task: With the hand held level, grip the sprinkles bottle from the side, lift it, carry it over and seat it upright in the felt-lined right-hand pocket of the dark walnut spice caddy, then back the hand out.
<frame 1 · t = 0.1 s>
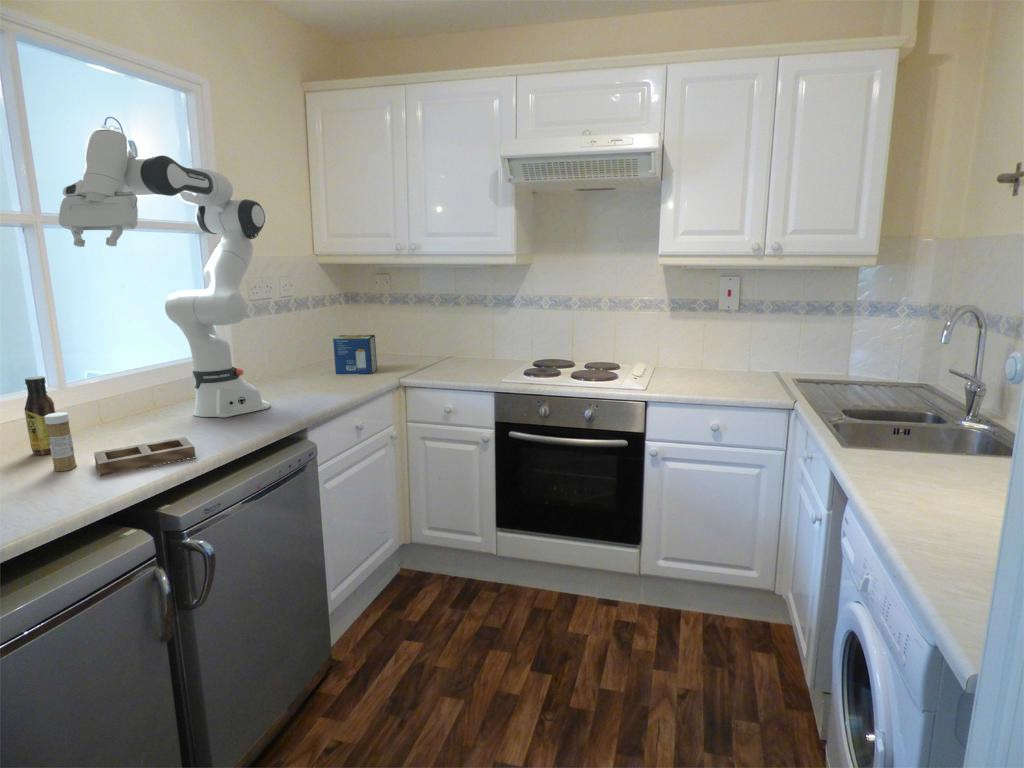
hand: (94, 245, 154), 52 cm above the worktop, tool tilted 20°, fingers open, 8 cm apart
sauce bottle: (47, 453, 161), on the worktop
sprinkles bottle: (65, 469, 148), on the worktop
protein box: (356, 372, 265), on the worktop
spice caddy: (146, 461, 152), on the worktop
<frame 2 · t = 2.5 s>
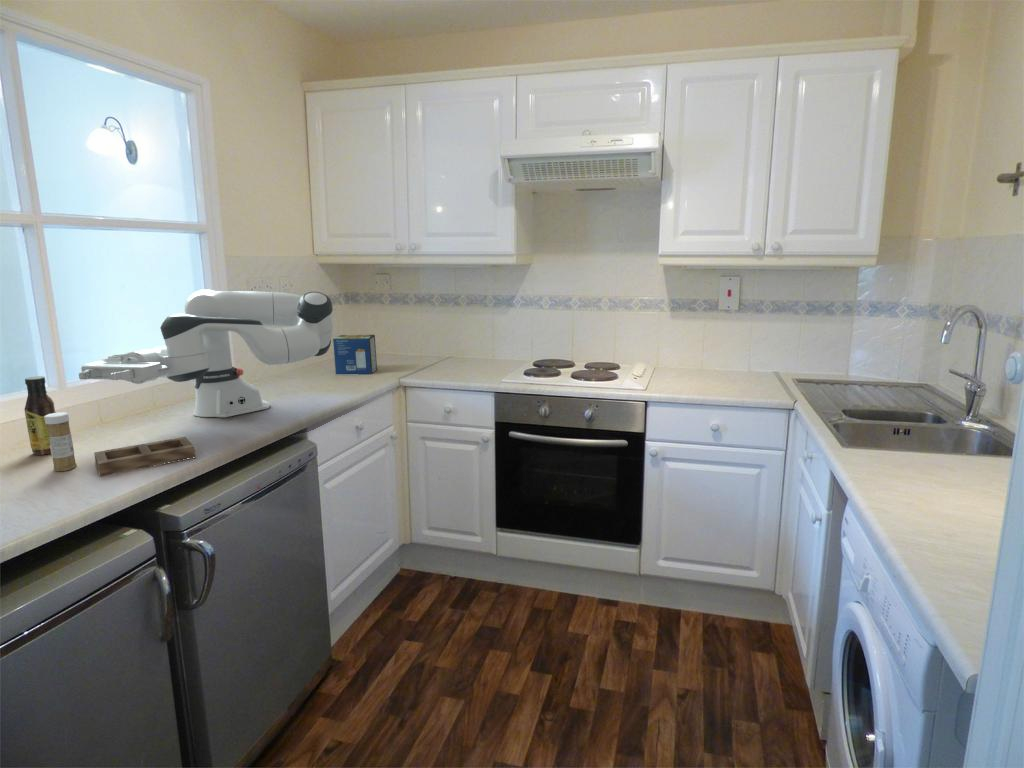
hand: (96, 376, 155), 20 cm above the worktop, tool horizontal, fingers open, 8 cm apart
nothing on the worktop moved.
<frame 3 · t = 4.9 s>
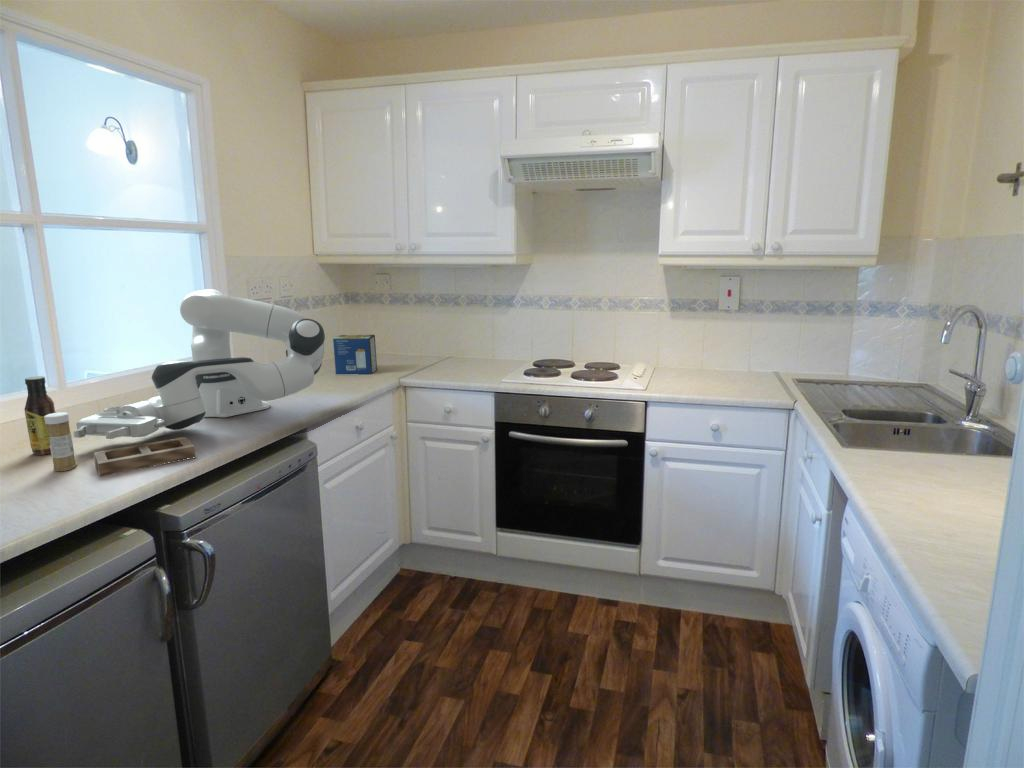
hand: (91, 435, 153), 6 cm above the worktop, tool horizontal, fingers open, 8 cm apart
nothing on the worktop moved.
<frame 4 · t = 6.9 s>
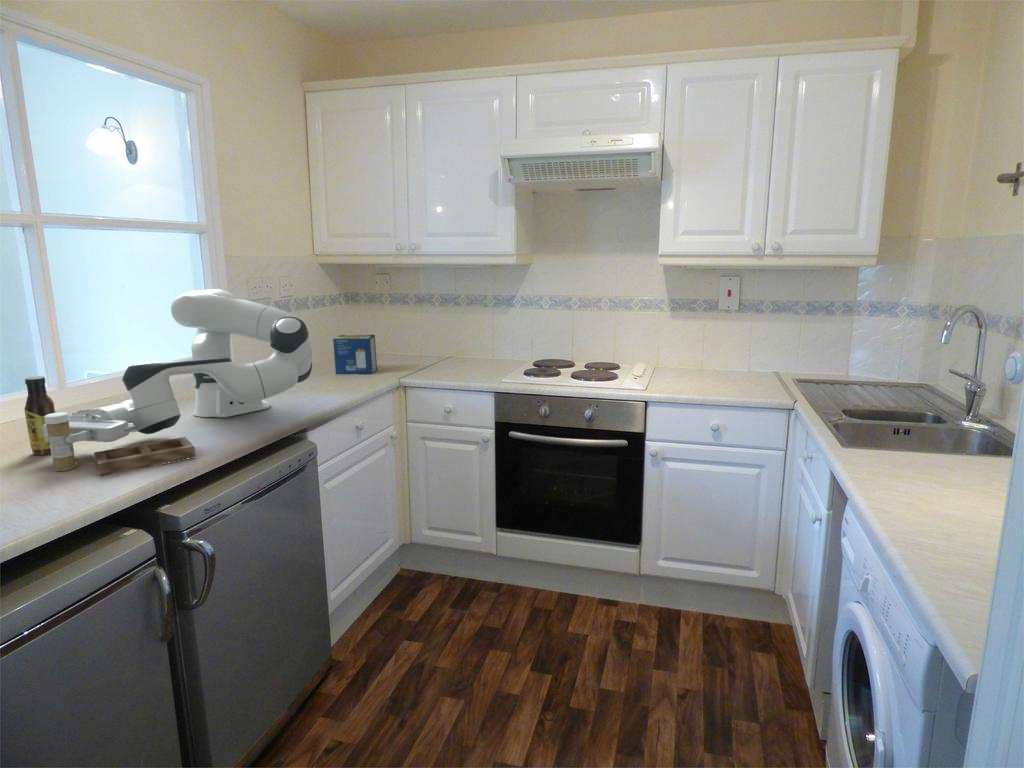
hand: (56, 439, 146), 8 cm above the worktop, tool horizontal, fingers closed on sprinkles bottle, 4 cm apart
sprinkles bottle: (65, 469, 148), on the worktop, touching gripper
everything else where it was.
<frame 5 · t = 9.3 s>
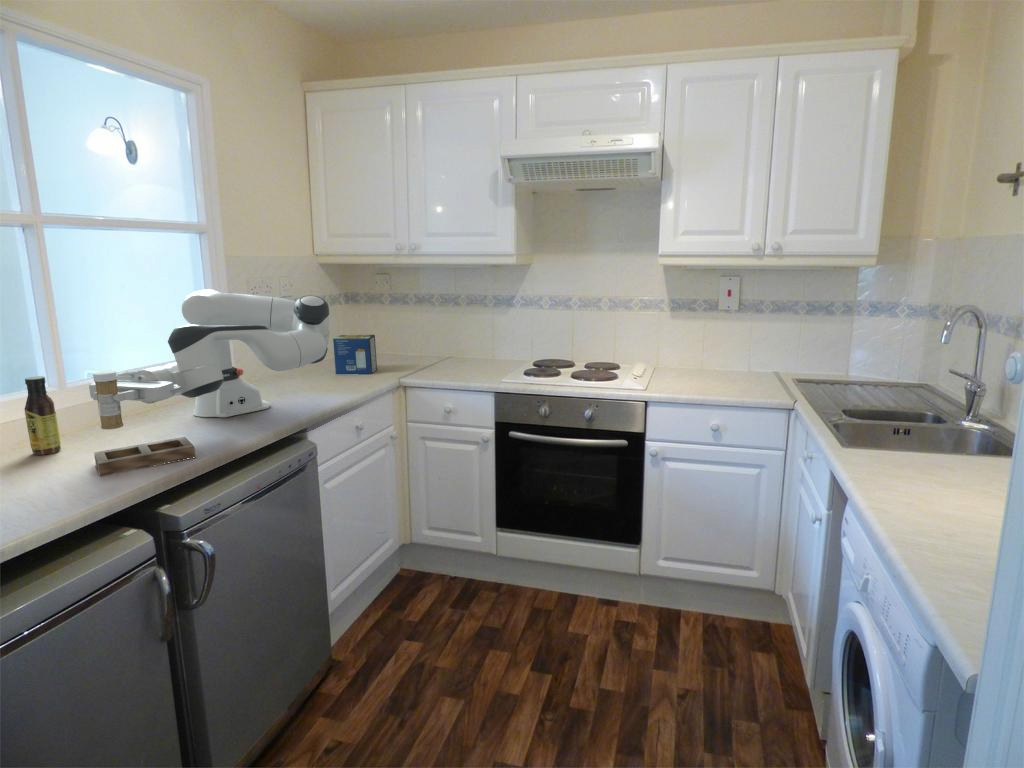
hand: (105, 397, 145), 17 cm above the worktop, tool horizontal, fingers closed on sprinkles bottle, 4 cm apart
sprinkles bottle: (112, 428, 148), point 9 cm above the worktop, touching gripper
everything else where it was.
when the fingers open (10 cm above the worktop, at t = 11.5 s): sprinkles bottle drops 1 cm, resting on spice caddy.
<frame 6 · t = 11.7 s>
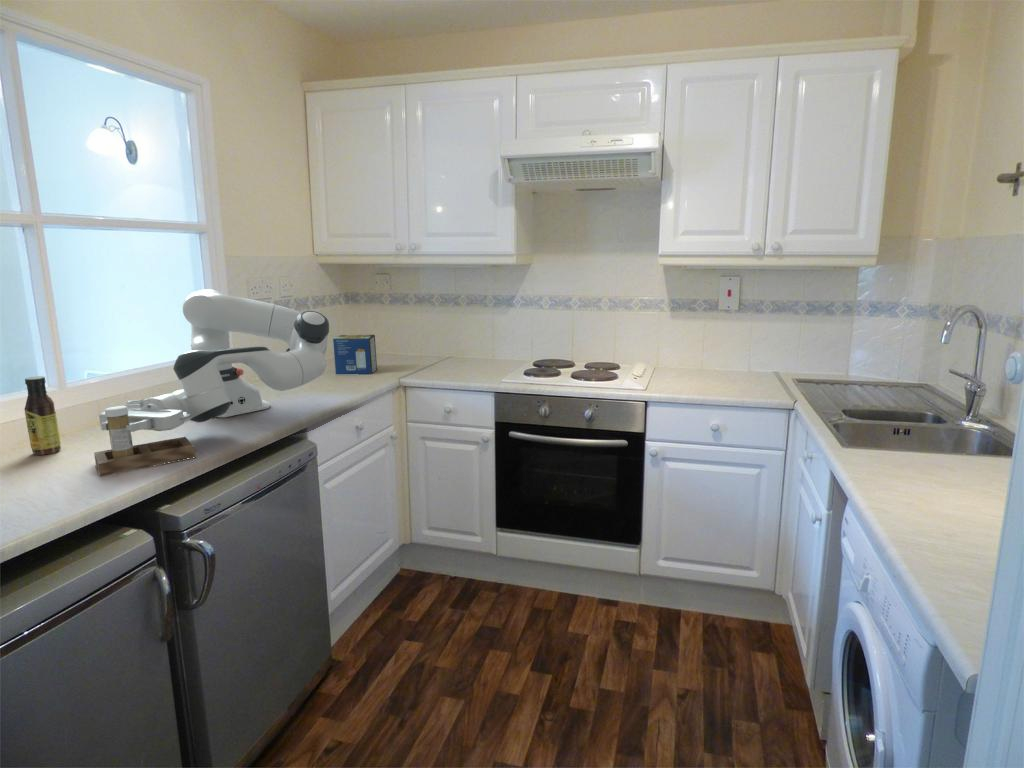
hand: (116, 427, 147), 10 cm above the worktop, tool horizontal, fingers open, 6 cm apart
sprinkles bottle: (124, 462, 150), point 1 cm above the worktop, touching spice caddy
everything else where it was.
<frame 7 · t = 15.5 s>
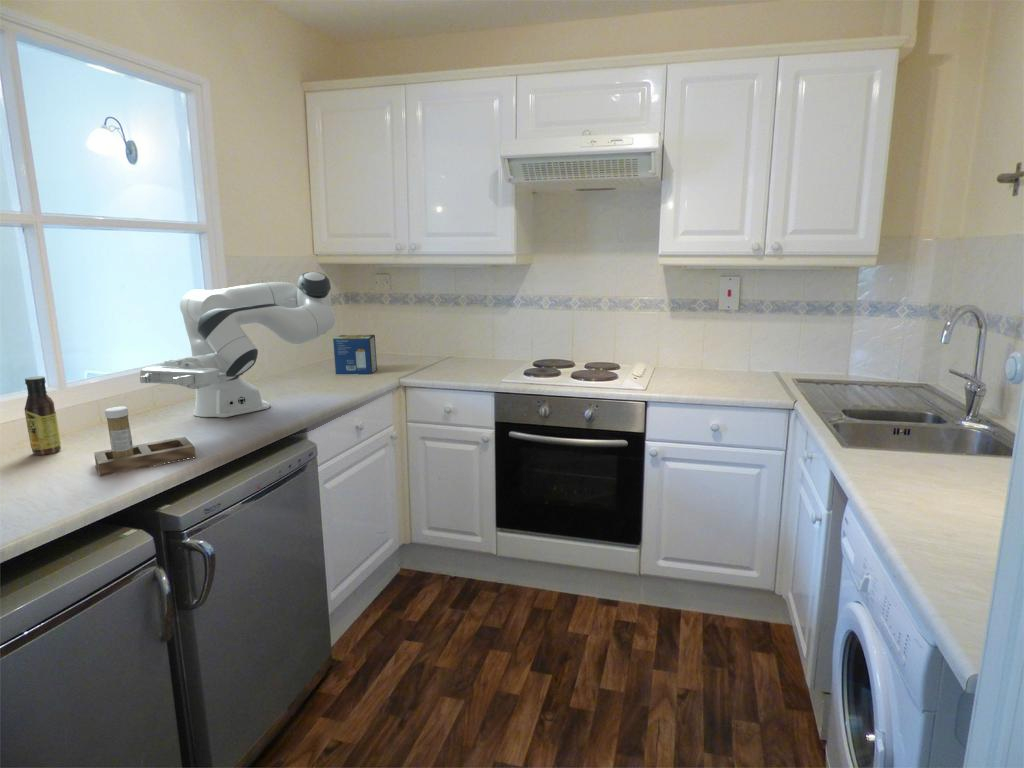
hand: (158, 380, 156), 19 cm above the worktop, tool horizontal, fingers open, 8 cm apart
nothing on the worktop moved.
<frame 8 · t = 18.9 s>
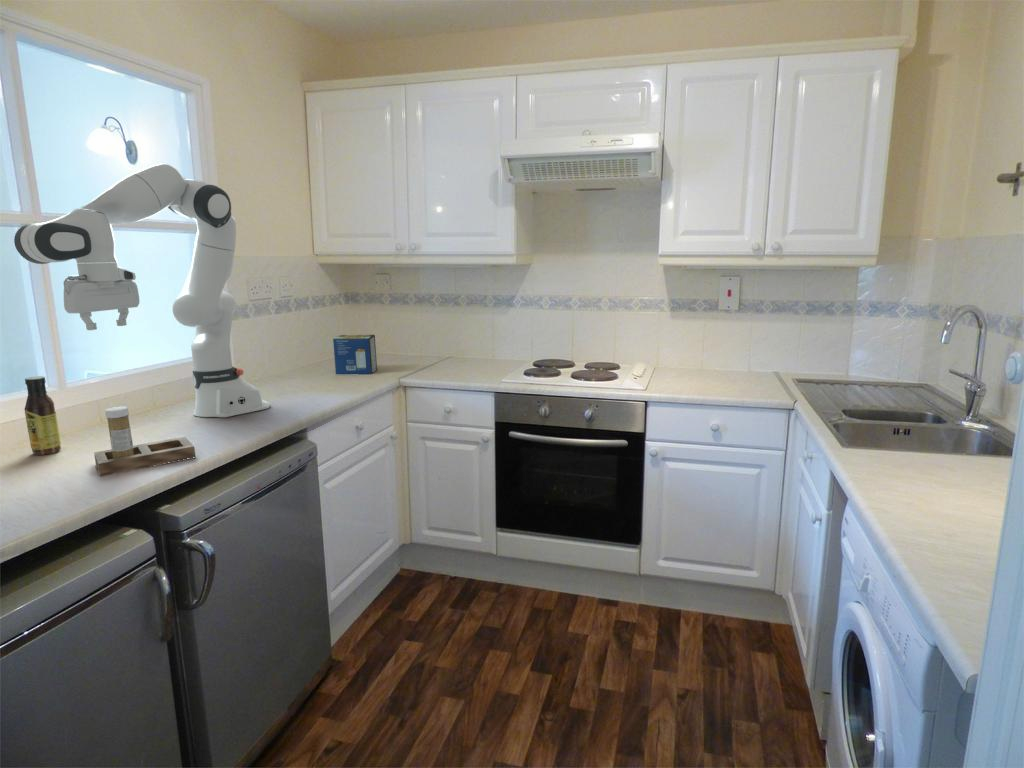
hand: (107, 327, 163), 31 cm above the worktop, tool pointing down, fingers open, 8 cm apart
nothing on the worktop moved.
at the end: sprinkles bottle 0.0 cm from the target spot on the spice caddy, point 0.5 cm above the spice caddy's base; sprinkles bottle tilted 0°; the gripper is holding nothing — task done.
